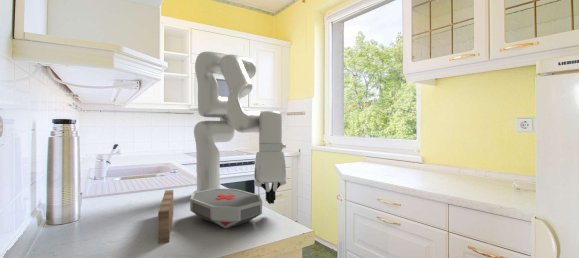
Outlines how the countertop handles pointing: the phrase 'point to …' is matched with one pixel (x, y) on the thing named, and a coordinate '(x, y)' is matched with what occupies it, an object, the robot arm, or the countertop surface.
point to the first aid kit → (226, 206)
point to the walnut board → (165, 216)
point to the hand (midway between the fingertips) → (270, 202)
